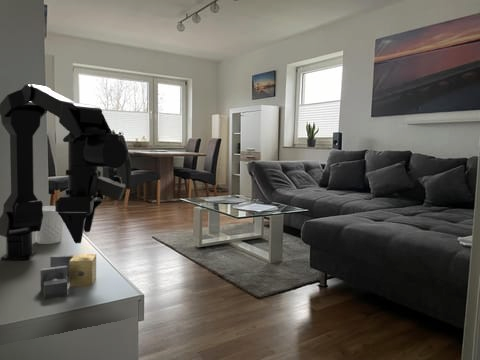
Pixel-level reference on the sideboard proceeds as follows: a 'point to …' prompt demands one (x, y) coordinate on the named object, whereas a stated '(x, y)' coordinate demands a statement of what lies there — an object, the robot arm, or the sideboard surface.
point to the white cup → (50, 227)
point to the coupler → (82, 270)
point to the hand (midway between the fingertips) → (83, 237)
